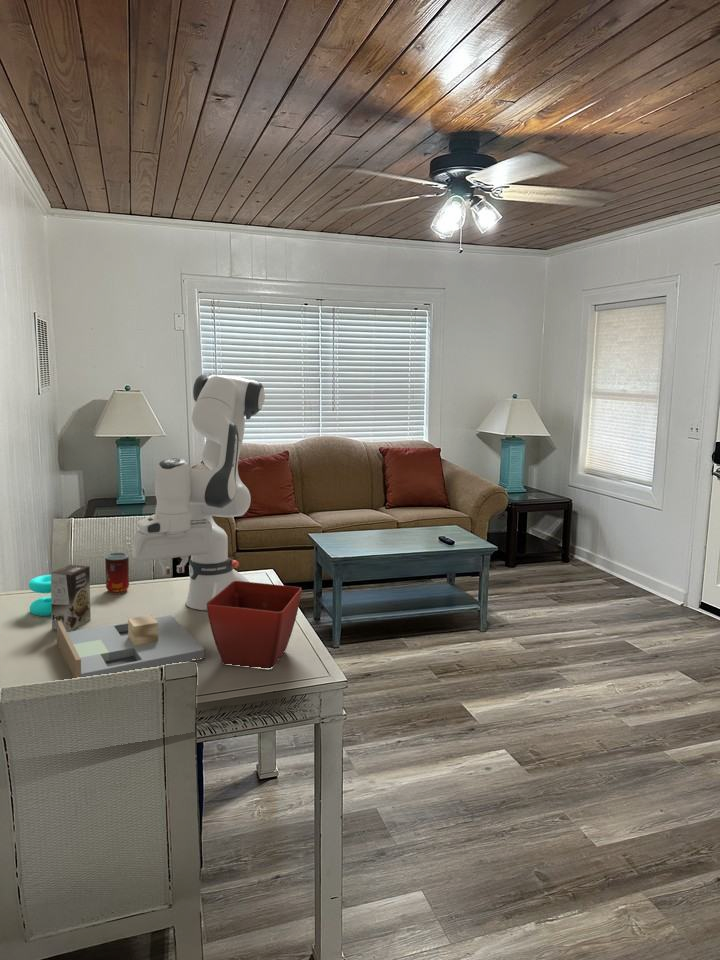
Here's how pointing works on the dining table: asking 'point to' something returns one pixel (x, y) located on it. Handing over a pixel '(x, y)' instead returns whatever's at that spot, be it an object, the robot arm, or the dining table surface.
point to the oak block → (142, 630)
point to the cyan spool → (43, 604)
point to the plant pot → (253, 622)
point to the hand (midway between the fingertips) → (173, 573)
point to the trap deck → (125, 648)
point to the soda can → (117, 573)
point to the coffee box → (70, 596)
